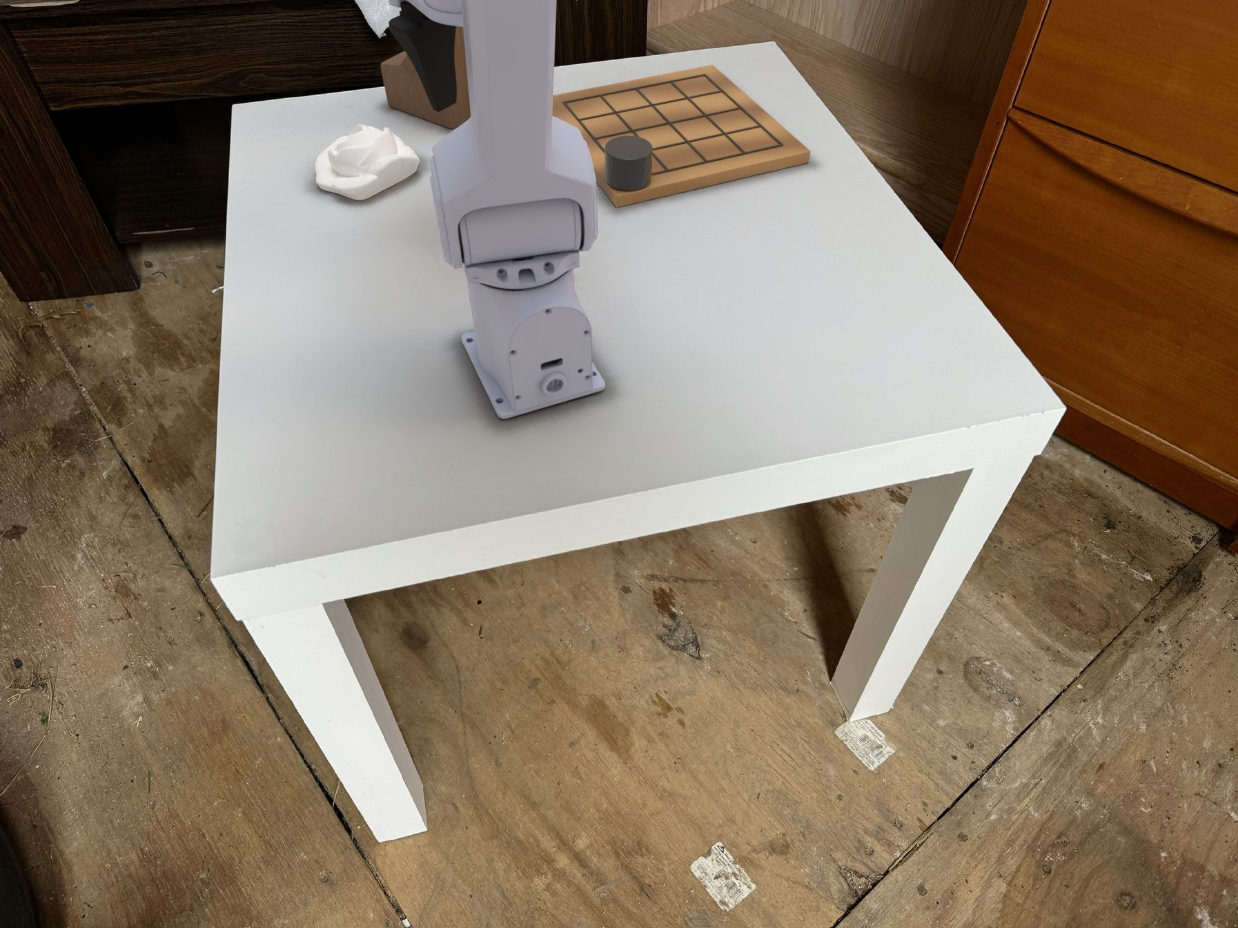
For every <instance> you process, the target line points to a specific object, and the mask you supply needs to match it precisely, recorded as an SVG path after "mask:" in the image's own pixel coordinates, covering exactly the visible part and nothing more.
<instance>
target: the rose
mask: <svg viewBox="0 0 1238 928" xmlns="http://www.w3.org/2000/svg"><path fill="white" fill-rule="evenodd" d="M420 162H421V159H420V158H419V157H418V155H417V153H416V152H415V151H414V150H413V148H412V147H410V146H408V145H407V144H405V143H404V141H403V140H402V139H401V138H400V137H399V136H398V135H396V134H394V133H393V132H392V130H391V129H390V128H389V127H384V128H383V130H380V128H376V127H374V126H371V125H368V126H367V125H365V124H362V123H358V124H356V125H354V127H353V128H352V130H351V132H350V134H349V135H342V136H340V137H337V138H336V139H335V140H334V141H333V142H332V143H331V144H330V145H329V146H328V147H326V148H325V149H324V150H323V151H322V152H321V153H320V154H319V155H318V156H317V157H316V160H315V162H314V172H315V175H316V176H315V183H316V185H317V186H318V187H319V188H320V189H321V190H322V191H326V192H330V193H335V194H338V195H340V196H344V197H346V198H348V199H351V200H355V201H364V200H366V199H369V198H371V197H373V196H375V195H377V194H379V193H381V192H382V191H384V190H387V189H388V188H390V187H392V186H394V185H396V184H399V183H400V182H403V181H404V180H406V179H408V178H409V177H410V176H412V175H413V174H414V173H415V172H416V171H418V169H419V167H418V166H419V164H420Z"/></svg>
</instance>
